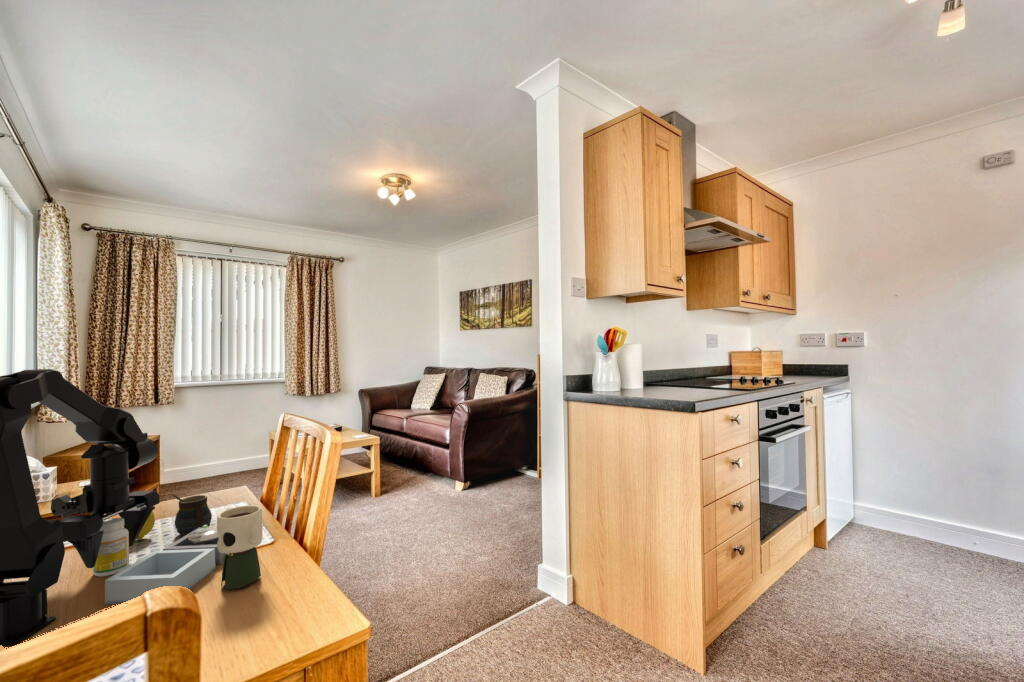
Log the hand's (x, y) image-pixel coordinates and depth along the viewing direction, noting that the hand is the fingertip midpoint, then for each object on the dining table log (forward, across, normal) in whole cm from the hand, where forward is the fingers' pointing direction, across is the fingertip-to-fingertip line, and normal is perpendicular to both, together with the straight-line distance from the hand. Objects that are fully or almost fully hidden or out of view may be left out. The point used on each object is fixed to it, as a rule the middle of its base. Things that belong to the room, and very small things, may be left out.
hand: (111, 556), depth 90 cm
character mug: (+3, +7, +29) cm, 30 cm away
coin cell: (0, -6, +15) cm, 16 cm away
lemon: (+3, -15, -6) cm, 16 cm away
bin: (+3, +7, +15) cm, 17 cm away
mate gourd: (+3, -18, +4) cm, 19 cm away
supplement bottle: (+3, 0, 0) cm, 3 cm away
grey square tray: (+3, -6, +15) cm, 16 cm away
